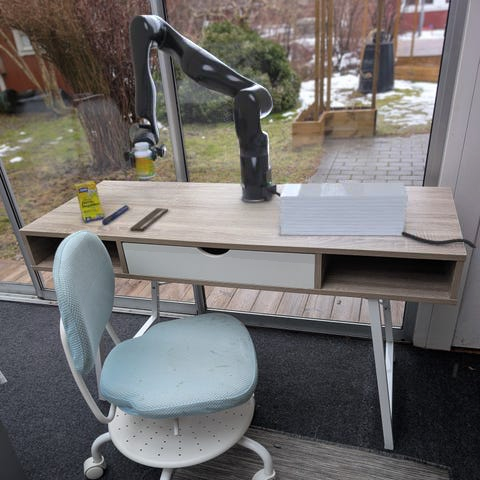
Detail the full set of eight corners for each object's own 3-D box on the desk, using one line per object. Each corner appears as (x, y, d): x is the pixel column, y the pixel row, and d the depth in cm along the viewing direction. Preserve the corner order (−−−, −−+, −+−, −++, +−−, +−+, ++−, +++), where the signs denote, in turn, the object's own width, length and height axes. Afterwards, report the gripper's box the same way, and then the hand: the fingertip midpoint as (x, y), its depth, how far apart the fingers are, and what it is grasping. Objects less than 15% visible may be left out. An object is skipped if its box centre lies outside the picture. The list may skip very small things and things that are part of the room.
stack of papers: (398, 220, 133) (403, 182, 127) (402, 235, 124) (408, 195, 118) (284, 220, 138) (283, 183, 133) (280, 234, 130) (279, 196, 124)
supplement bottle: (152, 179, 142) (146, 145, 137) (135, 179, 144) (129, 146, 138) (158, 173, 147) (153, 141, 141) (142, 173, 148) (136, 141, 143)
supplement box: (85, 223, 148) (76, 188, 142) (82, 217, 153) (73, 183, 147) (104, 218, 150) (96, 184, 144) (100, 213, 155) (92, 180, 149)
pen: (125, 208, 157) (124, 203, 156) (130, 209, 156) (129, 204, 155) (101, 225, 145) (100, 220, 144) (106, 225, 145) (105, 220, 144)
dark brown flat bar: (156, 210, 153) (156, 207, 153) (168, 210, 152) (167, 208, 152) (130, 230, 140) (130, 228, 140) (142, 231, 139) (142, 228, 138)
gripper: (119, 135, 151) (116, 148, 137) (164, 130, 152) (165, 142, 138) (124, 159, 155) (121, 174, 141) (168, 154, 156) (169, 168, 142)
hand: (143, 158), depth 140 cm, fingers closed on supplement bottle, 5 cm apart
